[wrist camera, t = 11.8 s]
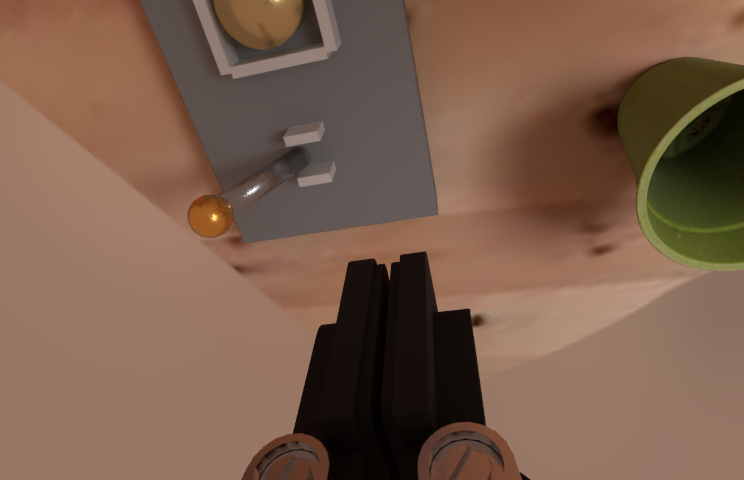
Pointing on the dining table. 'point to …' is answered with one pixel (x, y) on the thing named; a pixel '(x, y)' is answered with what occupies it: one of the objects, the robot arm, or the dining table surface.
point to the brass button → (261, 20)
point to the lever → (244, 194)
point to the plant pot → (689, 160)
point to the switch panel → (307, 112)
